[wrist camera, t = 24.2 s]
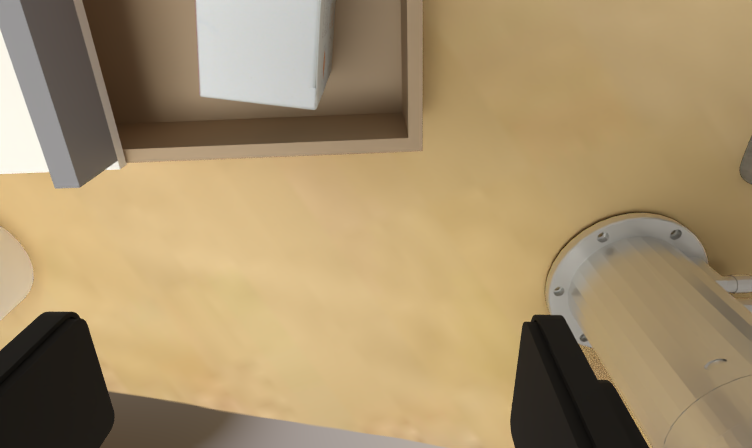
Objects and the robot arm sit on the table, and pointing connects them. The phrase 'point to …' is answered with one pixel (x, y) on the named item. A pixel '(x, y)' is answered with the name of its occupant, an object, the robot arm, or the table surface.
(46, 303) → the table surface
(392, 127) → the tray
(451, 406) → the table surface
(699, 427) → the robot arm
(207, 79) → the small box
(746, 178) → the grey flat upright block
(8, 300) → the base with upright slab
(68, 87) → the lid
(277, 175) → the table surface
